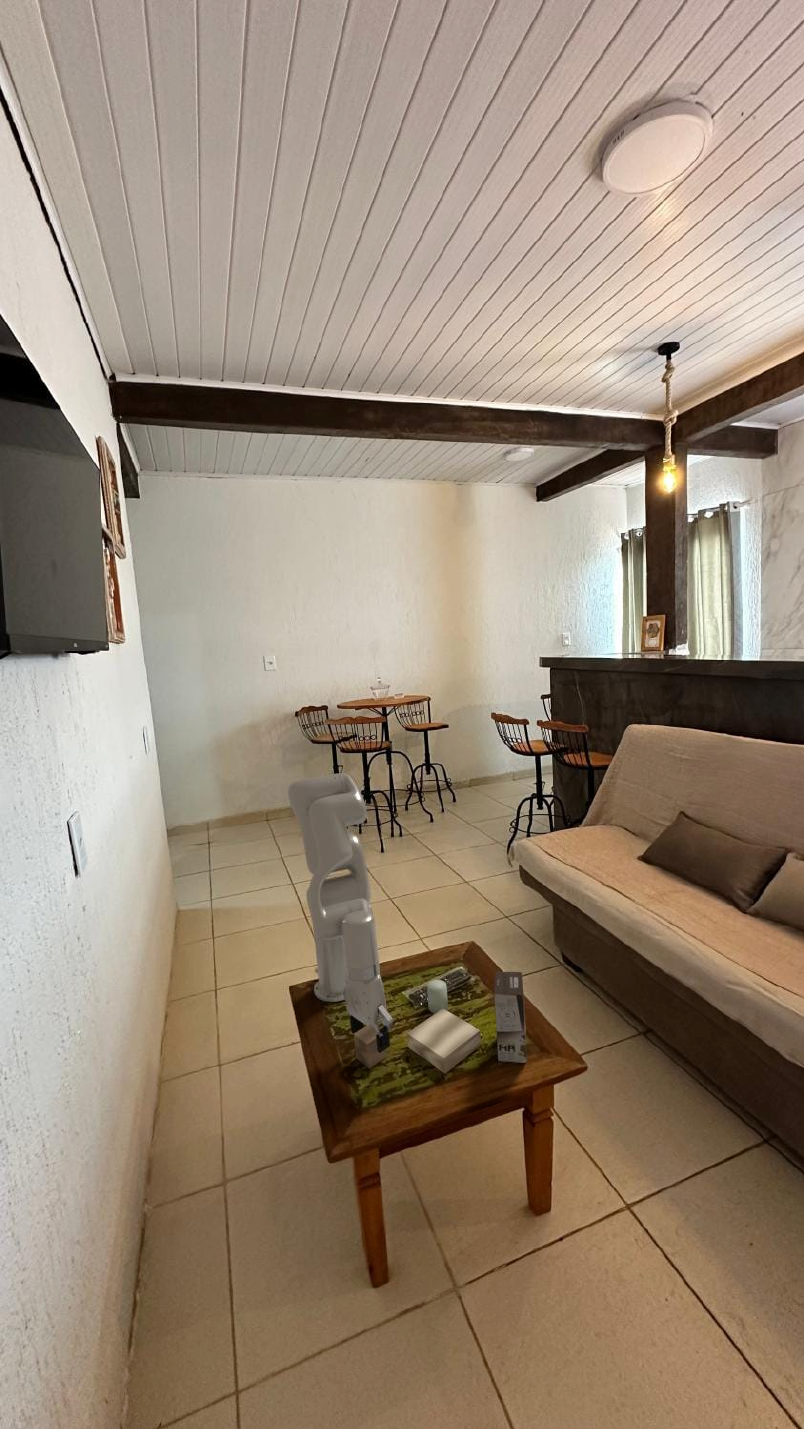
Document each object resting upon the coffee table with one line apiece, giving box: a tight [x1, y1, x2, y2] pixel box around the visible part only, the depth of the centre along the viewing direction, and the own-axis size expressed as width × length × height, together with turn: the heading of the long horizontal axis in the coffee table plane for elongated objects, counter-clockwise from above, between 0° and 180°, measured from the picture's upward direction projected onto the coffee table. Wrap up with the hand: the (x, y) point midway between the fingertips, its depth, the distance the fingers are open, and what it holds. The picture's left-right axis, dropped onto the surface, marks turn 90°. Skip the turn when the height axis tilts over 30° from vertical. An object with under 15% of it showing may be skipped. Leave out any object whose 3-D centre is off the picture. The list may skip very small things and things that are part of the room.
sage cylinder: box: [426, 979, 449, 1014], centre depth 144 cm, size 5×5×6 cm
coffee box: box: [493, 971, 527, 1064], centre depth 127 cm, size 9×6×16 cm
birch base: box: [406, 1009, 482, 1074], centre depth 130 cm, size 12×12×4 cm
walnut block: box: [353, 1025, 387, 1070], centre depth 128 cm, size 5×5×6 cm
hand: (370, 1039), depth 127 cm, fingers open, 9 cm apart
